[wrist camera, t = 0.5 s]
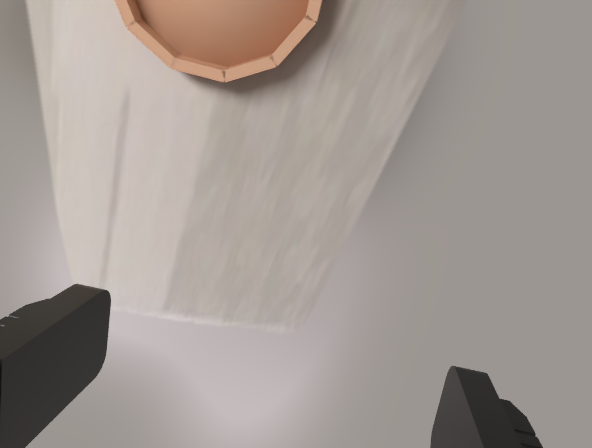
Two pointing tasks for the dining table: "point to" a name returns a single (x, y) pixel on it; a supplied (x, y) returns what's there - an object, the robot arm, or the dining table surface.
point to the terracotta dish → (220, 33)
